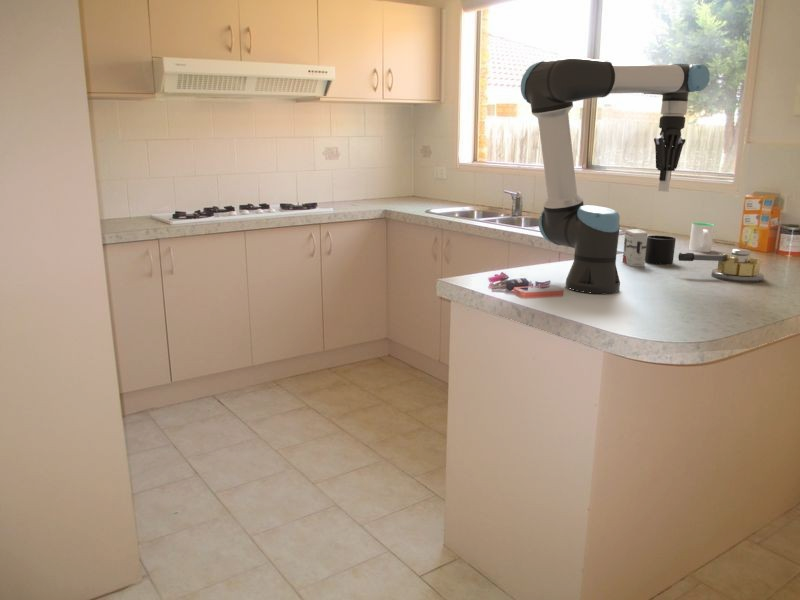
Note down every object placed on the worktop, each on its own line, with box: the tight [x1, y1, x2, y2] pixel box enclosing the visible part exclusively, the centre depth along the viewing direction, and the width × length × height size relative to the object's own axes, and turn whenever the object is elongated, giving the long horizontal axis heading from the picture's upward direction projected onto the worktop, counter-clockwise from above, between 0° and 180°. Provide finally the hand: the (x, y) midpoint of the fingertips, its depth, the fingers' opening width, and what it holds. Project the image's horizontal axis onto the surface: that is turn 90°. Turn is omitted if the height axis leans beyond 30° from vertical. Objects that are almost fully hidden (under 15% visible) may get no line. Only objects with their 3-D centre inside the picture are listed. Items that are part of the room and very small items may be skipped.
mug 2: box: [688, 222, 715, 253], centre depth 262 cm, size 12×8×10 cm
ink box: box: [622, 228, 648, 267], centre depth 231 cm, size 8×5×12 cm, turn 2°
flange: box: [711, 248, 765, 284], centre depth 212 cm, size 15×15×9 cm
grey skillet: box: [677, 252, 761, 276], centre depth 212 cm, size 11×24×6 cm, turn 85°
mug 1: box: [645, 235, 677, 266], centre depth 237 cm, size 9×12×9 cm
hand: (663, 191), depth 216 cm, fingers closed
